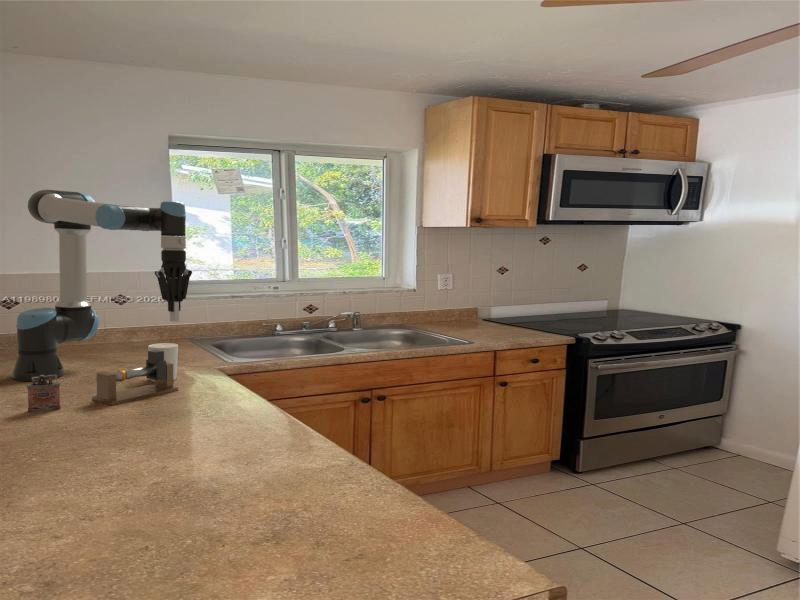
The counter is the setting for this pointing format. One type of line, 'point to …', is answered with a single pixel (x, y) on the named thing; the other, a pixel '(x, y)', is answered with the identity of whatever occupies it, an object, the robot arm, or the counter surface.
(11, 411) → the counter surface
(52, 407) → the lighter
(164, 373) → the collar
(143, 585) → the counter surface
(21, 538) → the counter surface
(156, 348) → the candle holder
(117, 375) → the pipe rig
